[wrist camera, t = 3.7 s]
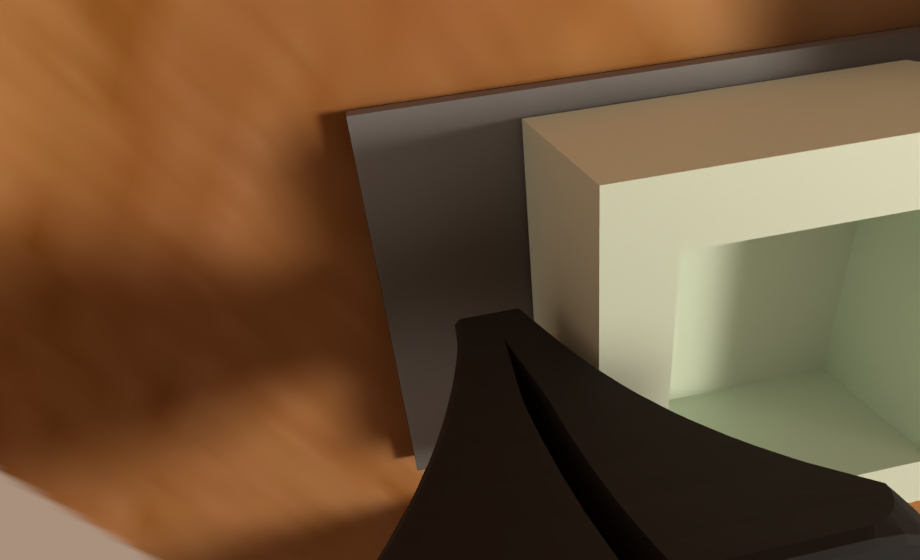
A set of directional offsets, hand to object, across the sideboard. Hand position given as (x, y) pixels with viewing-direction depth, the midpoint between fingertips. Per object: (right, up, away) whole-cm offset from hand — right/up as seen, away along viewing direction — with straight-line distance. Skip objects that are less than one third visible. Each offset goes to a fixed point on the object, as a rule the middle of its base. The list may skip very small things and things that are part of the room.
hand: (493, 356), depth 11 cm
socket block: (+5, +2, +2) cm, 6 cm away
